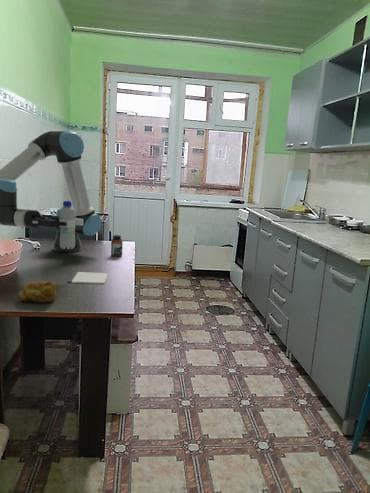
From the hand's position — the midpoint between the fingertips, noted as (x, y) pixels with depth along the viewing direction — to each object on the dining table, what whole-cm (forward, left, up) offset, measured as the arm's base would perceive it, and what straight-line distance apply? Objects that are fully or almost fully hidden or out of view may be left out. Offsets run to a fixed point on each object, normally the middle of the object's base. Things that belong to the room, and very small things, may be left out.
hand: (78, 223), depth 160 cm
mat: (-1, +4, -24) cm, 24 cm away
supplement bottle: (-44, +12, -24) cm, 52 cm away
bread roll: (+27, -9, -24) cm, 37 cm away
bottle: (-1, -5, -11) cm, 12 cm away
